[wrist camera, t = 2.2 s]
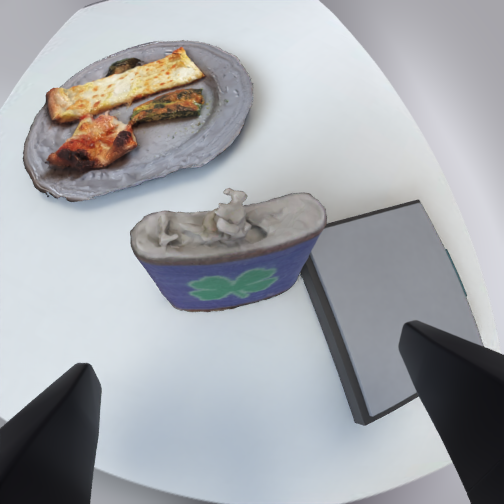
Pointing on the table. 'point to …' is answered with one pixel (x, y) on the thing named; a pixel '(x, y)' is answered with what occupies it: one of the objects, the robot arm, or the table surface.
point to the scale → (382, 300)
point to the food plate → (137, 118)
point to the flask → (229, 250)
